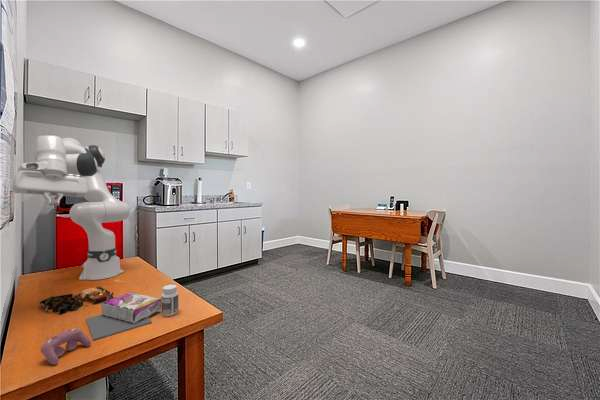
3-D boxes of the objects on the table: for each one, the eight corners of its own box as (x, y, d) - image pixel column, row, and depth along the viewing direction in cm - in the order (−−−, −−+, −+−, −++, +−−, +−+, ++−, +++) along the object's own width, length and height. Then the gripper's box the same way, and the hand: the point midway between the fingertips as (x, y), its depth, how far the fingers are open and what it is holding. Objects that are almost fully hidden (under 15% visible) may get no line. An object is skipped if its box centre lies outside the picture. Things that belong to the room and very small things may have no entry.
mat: (85, 319, 92) (85, 318, 92) (138, 306, 103) (138, 305, 103) (93, 340, 79) (93, 339, 79) (151, 322, 91) (151, 321, 91)
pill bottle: (173, 308, 102) (173, 283, 102) (181, 312, 99) (181, 286, 98) (158, 313, 98) (158, 287, 97) (165, 318, 94) (165, 290, 94)
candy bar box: (130, 291, 105) (161, 297, 99) (130, 303, 105) (161, 311, 99) (100, 301, 94) (134, 309, 89) (100, 315, 94) (133, 324, 89)
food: (52, 319, 93) (52, 309, 93) (34, 307, 103) (34, 298, 102) (121, 298, 112) (121, 290, 112) (100, 290, 121) (100, 282, 121)
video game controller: (83, 348, 78) (75, 326, 79) (93, 344, 77) (85, 321, 78) (43, 370, 69) (34, 344, 69) (54, 365, 68) (45, 339, 68)
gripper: (83, 179, 109) (86, 209, 105) (10, 172, 93) (10, 207, 88) (88, 172, 106) (92, 202, 102) (15, 162, 90) (15, 198, 85)
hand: (53, 204), depth 95 cm, fingers closed
